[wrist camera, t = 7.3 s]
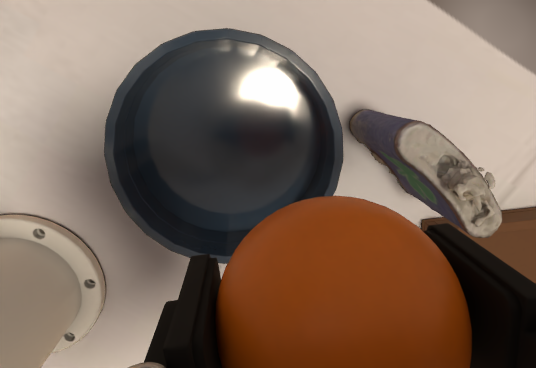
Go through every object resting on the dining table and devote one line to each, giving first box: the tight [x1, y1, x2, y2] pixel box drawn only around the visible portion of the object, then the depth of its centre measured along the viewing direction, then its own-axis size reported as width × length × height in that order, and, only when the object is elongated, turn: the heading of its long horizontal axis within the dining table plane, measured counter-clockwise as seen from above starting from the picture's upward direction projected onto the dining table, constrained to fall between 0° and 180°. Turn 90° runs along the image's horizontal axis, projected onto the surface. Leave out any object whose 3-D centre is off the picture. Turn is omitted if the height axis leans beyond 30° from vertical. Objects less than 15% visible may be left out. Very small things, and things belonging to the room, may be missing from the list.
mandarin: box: [215, 196, 472, 368], centre depth 9 cm, size 6×6×6 cm
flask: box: [350, 110, 503, 238], centre depth 23 cm, size 9×3×11 cm, turn 45°
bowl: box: [104, 28, 343, 264], centre depth 25 cm, size 15×15×5 cm
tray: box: [421, 207, 536, 284], centre depth 31 cm, size 17×14×2 cm
